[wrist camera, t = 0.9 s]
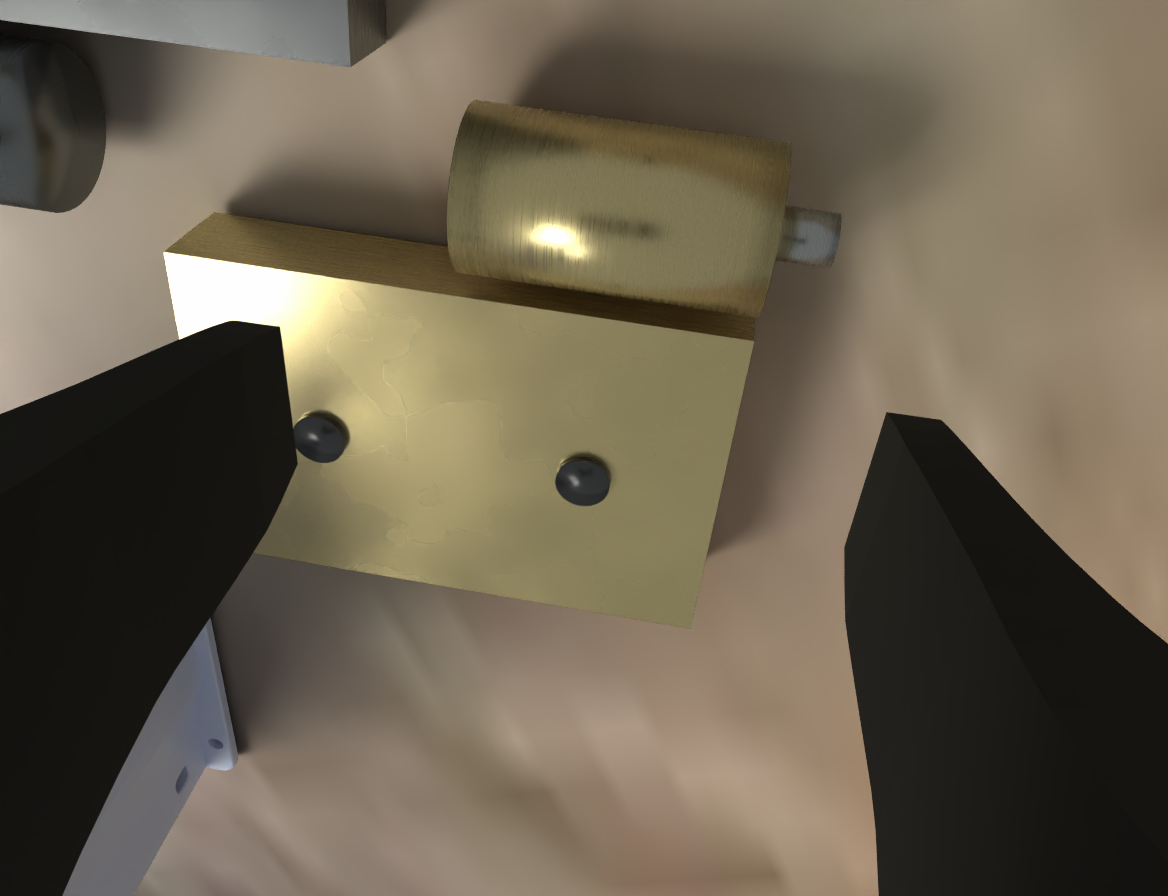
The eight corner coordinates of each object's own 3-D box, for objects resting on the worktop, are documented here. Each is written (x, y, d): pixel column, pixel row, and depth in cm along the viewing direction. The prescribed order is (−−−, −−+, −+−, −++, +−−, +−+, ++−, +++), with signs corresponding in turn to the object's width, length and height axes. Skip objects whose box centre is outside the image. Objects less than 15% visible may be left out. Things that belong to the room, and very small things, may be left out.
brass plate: (849, 129, 18) (864, 186, 15) (737, 575, 25) (735, 667, 22) (189, 40, 19) (98, 80, 16) (254, 494, 26) (198, 573, 23)
